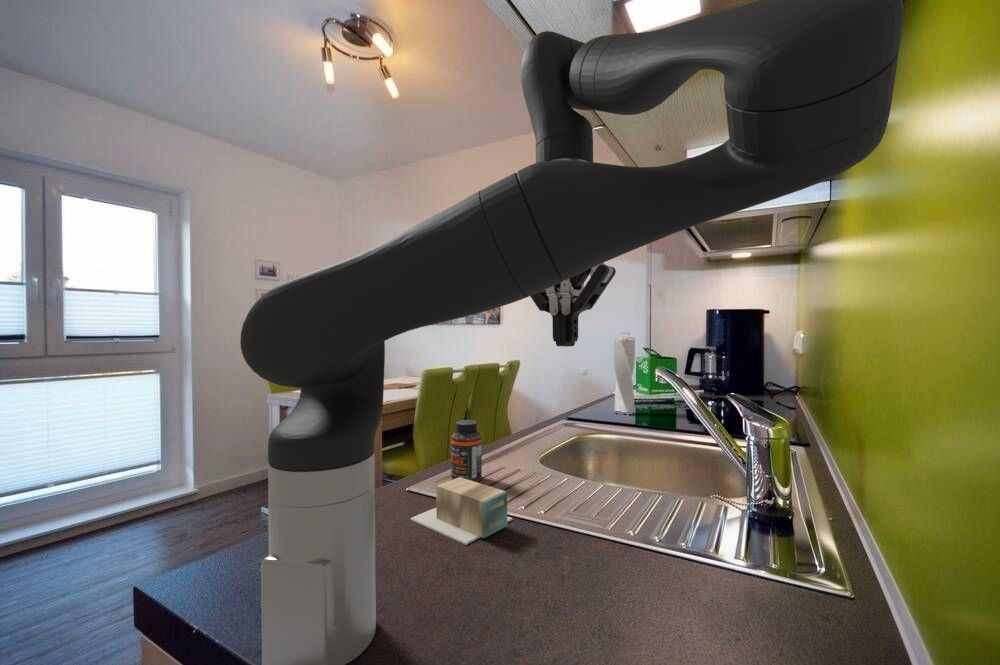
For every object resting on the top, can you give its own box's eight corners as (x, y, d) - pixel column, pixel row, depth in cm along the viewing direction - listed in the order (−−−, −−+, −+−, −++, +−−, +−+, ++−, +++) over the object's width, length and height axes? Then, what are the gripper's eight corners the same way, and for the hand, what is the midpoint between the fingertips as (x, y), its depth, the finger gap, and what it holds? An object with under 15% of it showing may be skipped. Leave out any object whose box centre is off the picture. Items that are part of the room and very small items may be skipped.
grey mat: (512, 519, 66) (512, 517, 66) (466, 545, 58) (465, 542, 58) (457, 500, 73) (457, 498, 73) (410, 520, 66) (410, 518, 66)
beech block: (507, 491, 63) (459, 477, 69) (484, 502, 59) (436, 485, 66) (507, 525, 63) (460, 508, 69) (484, 538, 59) (436, 518, 66)
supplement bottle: (444, 482, 82) (444, 423, 82) (461, 473, 87) (461, 417, 87) (471, 487, 79) (471, 426, 79) (487, 477, 85) (487, 420, 85)
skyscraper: (618, 410, 154) (617, 332, 154) (639, 412, 149) (638, 332, 149) (610, 414, 147) (609, 332, 147) (631, 416, 143) (631, 332, 143)
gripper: (628, 201, 51) (629, 346, 52) (538, 220, 60) (539, 344, 60) (598, 186, 46) (599, 348, 46) (503, 209, 54) (504, 346, 54)
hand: (565, 346), depth 53 cm, fingers closed
